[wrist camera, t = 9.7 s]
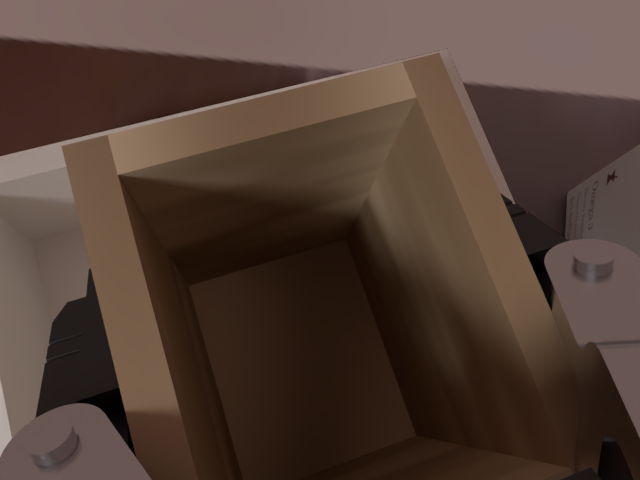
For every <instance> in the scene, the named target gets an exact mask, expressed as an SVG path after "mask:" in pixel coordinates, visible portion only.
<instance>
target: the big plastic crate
mask: <svg viewBox="0 0 640 480" xmlns="http://www.w3.org/2000/svg"><path fill="white" fill-rule="evenodd" d="M436 53H440V56H441V58H442V60H443V63H444V65H445V67H446V70H447V72H448V74H449V77H450V79H451V81H452V83H453V86H454V88H455V90H456V93H457V95H458V97H459V100H460V102H461V104H462V106H463V109H464V111H465V113H466V116H467V118H468V120H469V123H470V125H471V127H472V130H473V132H474V134H475V136H476V139H477V141H478V143H479V146H480V148H481V150H482V153H483V155H484V157H485V159H486V162H487V164H488V166H489V169H490V171H491V173H492V176H493V178H494V180H495V183H496V185H497V187H498V189H499V192H500V193H501V194H502V195H504V196H505V197H507V198H508V199H510V200H511V201H512V203H513V204H515V202H514V200H513V197H512V195H511V193H510V190H509V188H508V186H507V183H506V181H505V179H504V177H503V174H502V172H501V170H500V167H499V165H498V163H497V161H496V158H495V156H494V154H493V151H492V149H491V147H490V144H489V142H488V140H487V138H486V135H485V133H484V131H483V128H482V126H481V124H480V122H479V119H478V117H477V115H476V112H475V110H474V108H473V106H472V103H471V101H470V99H469V96H468V94H467V92H466V89H465V87H464V85H463V83H462V80H461V78H460V76H459V73H458V71H457V69H456V67H455V64H454V62H453V60H452V57H451V55H450V53H449V51H448V49H443V50H439V51H435V52H431V53H427V54H423V55H418V56H415V57H410V58H406V59H402V60H398V61H393V62H389V63H386V64H381V65H377V66H373V67H369V68H364V69H360V70H356V71H352V72H348V73H344V74H340V75H335V76H331V77H327V78H323V79H319V80H315V81H311V82H306V83H302V84H298V85H294V86H290V87H286V88H282V89H278V90H273V91H269V92H265V93H261V94H257V95H253V96H249V97H244V98H240V99H236V100H232V101H228V102H224V103H220V104H215V105H211V106H207V107H203V108H199V109H195V110H191V111H186V112H182V113H178V114H174V115H170V116H166V117H162V118H157V119H153V120H149V121H145V122H141V123H137V124H133V125H128V126H124V127H120V128H116V129H112V130H108V131H104V132H99V133H95V134H91V135H87V136H83V137H79V138H75V139H70V140H66V141H62V142H58V143H54V144H50V145H46V146H41V147H37V148H33V149H29V150H25V151H21V152H17V153H12V154H8V155H4V156H0V456H1V454H2V452H3V450H4V449H5V447H6V446H7V444H8V443H9V441H10V440H11V439H12V438H13V437H14V436H15V435H16V434H17V433H18V432H19V431H20V430H21V429H22V428H23V427H24V426H26V425H27V424H28V423H29V422H31V421H32V420H34V419H35V417H36V411H37V406H38V400H39V395H40V389H41V383H42V378H43V372H44V366H45V363H47V360H46V355H47V349H48V346H50V344H49V338H50V332H51V327H52V322H53V321H54V319H55V318H56V317H57V315H58V314H59V313H60V311H61V310H62V309H63V307H64V306H65V304H66V303H67V302H69V301H73V300H76V299H80V298H83V297H86V293H87V282H88V272H89V268H91V267H90V263H89V259H88V255H87V251H86V246H85V242H84V238H83V234H82V230H81V226H80V221H79V217H78V213H77V209H76V205H75V201H74V197H73V192H72V188H71V184H70V180H69V176H68V172H67V167H66V163H65V159H64V155H63V151H62V147H61V146H64V145H68V144H72V143H76V142H80V141H84V140H88V139H92V138H96V137H100V136H104V135H108V134H113V133H117V132H121V131H125V130H129V129H133V128H137V127H141V126H145V125H149V124H153V123H157V122H161V121H165V120H169V119H173V118H177V117H181V116H185V115H189V114H193V113H197V112H202V111H206V110H210V109H214V108H218V107H222V106H226V105H230V104H234V103H238V102H242V101H246V100H250V99H254V98H258V97H262V96H266V95H270V94H274V93H278V92H282V91H287V90H291V89H295V88H299V87H303V86H307V85H311V84H315V83H319V82H323V81H327V80H331V79H335V78H339V77H343V76H347V75H351V74H355V73H359V72H363V71H367V70H372V69H376V68H380V67H384V66H388V65H392V64H396V63H400V62H404V61H408V60H412V59H416V58H420V57H424V56H428V55H432V54H436Z"/></svg>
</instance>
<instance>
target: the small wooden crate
mask: <svg viewBox="0 0 640 480" xmlns="http://www.w3.org/2000/svg"><path fill="white" fill-rule="evenodd" d="M61 147H62V151H63V155H64V159H65V163H66V167H67V172H68V176H69V180H70V184H71V188H72V192H73V197H74V201H75V205H76V209H77V213H78V217H79V221H80V226H81V230H82V234H83V238H84V242H85V246H86V251H87V255H88V259H89V263H90V267H91V271H92V276H93V280H94V284H95V288H96V292H97V296H98V301H99V305H100V309H101V313H102V317H103V321H104V326H105V330H106V334H107V338H108V342H109V346H110V351H111V355H112V359H113V363H114V367H115V371H116V376H117V380H118V384H119V388H120V392H121V396H122V401H123V405H124V409H125V413H126V417H127V421H128V426H129V430H130V434H131V438H132V442H133V446H134V450H135V455H136V458H137V460H138V461H139V463H140V464H141V465H142V467H143V468H144V470H145V471H146V472H147V474H148V475H149V477H150V478H151V480H561V479H563V478H566V477H568V476H570V475H573V474H575V468H574V454H575V445H576V436H577V427H578V417H579V407H580V402H579V391H578V385H577V380H576V376H575V373H574V370H573V367H572V365H571V362H570V360H569V357H568V354H567V352H566V349H565V347H564V344H563V341H562V339H561V336H560V334H559V331H558V328H557V326H556V323H555V321H554V318H553V315H552V312H551V309H550V307H549V305H548V302H547V300H546V298H545V295H544V293H543V291H542V289H541V286H540V284H539V282H538V279H537V277H536V275H535V272H534V270H533V268H532V265H531V263H530V261H529V259H528V256H527V254H526V252H525V249H524V247H523V245H522V242H521V240H520V238H519V236H518V233H517V231H516V229H515V226H514V224H513V222H512V219H511V217H510V215H509V212H508V210H507V208H506V206H505V203H504V201H503V199H502V196H501V194H500V192H499V189H498V187H497V185H496V183H495V180H494V178H493V176H492V173H491V171H490V169H489V166H488V164H487V162H486V159H485V157H484V155H483V153H482V150H481V148H480V146H479V143H478V141H477V139H476V136H475V134H474V132H473V130H472V127H471V125H470V123H469V120H468V118H467V116H466V113H465V111H464V109H463V106H462V104H461V102H460V100H459V97H458V95H457V93H456V90H455V88H454V86H453V83H452V81H451V79H450V77H449V74H448V72H447V70H446V67H445V65H444V63H443V60H442V58H441V56H440V53H436V54H432V55H428V56H424V57H420V58H416V59H412V60H408V61H404V62H400V63H396V64H392V65H388V66H384V67H380V68H376V69H372V70H367V71H363V72H359V73H355V74H351V75H347V76H343V77H339V78H335V79H331V80H327V81H323V82H319V83H315V84H311V85H307V86H303V87H299V88H295V89H291V90H287V91H282V92H278V93H274V94H270V95H266V96H262V97H258V98H254V99H250V100H246V101H242V102H238V103H234V104H230V105H226V106H222V107H218V108H214V109H210V110H206V111H202V112H197V113H193V114H189V115H185V116H181V117H177V118H173V119H169V120H165V121H161V122H157V123H153V124H149V125H145V126H141V127H137V128H133V129H129V130H125V131H121V132H117V133H113V134H108V135H104V136H100V137H96V138H92V139H88V140H84V141H80V142H76V143H72V144H68V145H64V146H61Z"/></svg>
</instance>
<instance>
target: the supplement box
mask: <svg viewBox="0 0 640 480" xmlns="http://www.w3.org/2000/svg"><path fill="white" fill-rule="evenodd" d="M565 238H566V239H567V240H569V241H571V240H579V239H596V240H603V241H608V242H612V243H615V244H619V245H621V246H623V247H626V248H628V249H629V250H631V251H633V252H634V253H635V254H636V255H638V257H639V258H640V144H639V145H637V146H636V147H634V148H633V149H631V150H630V151H628V152H627V153H625V154H624V155H622V156H621V157H619V158H618V159H616V160H615V161H613V162H612V163H610V164H609V165H607V166H606V167H604V168H603V169H601V170H600V171H598V172H597V173H595V174H594V175H592V176H591V177H589V178H588V179H586V180H585V181H583V182H582V183H580V184H579V185H577V186H576V187H574V188H573V189H571V190H570V191H569V192H568V193H567V208H566V228H565Z"/></svg>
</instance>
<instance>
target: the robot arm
mask: <svg viewBox="0 0 640 480" xmlns="http://www.w3.org/2000/svg"><path fill="white" fill-rule="evenodd" d="M500 194H501V193H500ZM501 196H502V199H503V201H504V203H505V206H506V208H507V210H508V212H509V215H510V217H511V219H512V222H513V224H514V226H515V229H516V231H517V233H518V236H519V238H520V240H521V242H522V245H523V247H524V249H525V252H526V254H527V256H528V259H529V261H530V263H531V265H532V268H533V270H534V272H535V275H536V277H537V279H538V282H539V284H540V286H541V289H542V291H543V293H544V295H545V298H546V300H547V302H548V305H549V307H550V309H551V312H552V315H553V318H554V321H555V323H556V326H557V328H558V331H559V334H560V336H561V339H562V341H563V344H564V347H565V349H566V352H567V354H568V357H569V360H570V362H571V365H572V367H573V370H574V373H575V376H576V380H577V385H578V391H579V402H580V407H579V417H578V427H577V436H576V445H575V454H574V468H575V474H573V475H570V476H568V477H566V478H563V479H561V480H640V258H639V257H638V255H636V254H635V253H634V252H633V251H631V250H629V249H628V248H626V247H623V246H621V245H619V244H615V243H612V242H608V241H603V240H596V239H579V240H571V241H569V240H567V239H566V238H565V237H563V236H562V235H560V234H559V233H557V232H556V231H554V230H553V229H552V228H550V227H549V226H547V225H546V224H544V223H543V222H541V221H540V220H539V219H537V218H536V217H534V216H533V215H531V214H530V213H526V211H525V210H524V209H523V208H521V207H520V206H518V205H517V204H513V203H512V201H511V200H510V199H508V198H507V197H505V196H504V195H502V194H501ZM49 344H50V346H48V349H47V355H46V360H47V363H45V366H44V372H43V378H42V383H41V389H40V395H39V400H38V406H37V411H36V417H35V419H34V420H32V421H31V422H29V423H28V424H27V425H26V426H24V427H23V428H22V429H21V430H20V431H19V432H18V433H17V434H16V435H15V436H14V437H13V438H12V439H11V440H10V441H9V443H8V444H7V446H6V447H5V449H4V450H3V452H2V454H1V456H0V480H151V478H150V477H149V475H148V474H147V472H146V471H145V470H144V468H143V467H142V465H141V464H140V463H139V461H138V460H137V458H136V455H135V450H134V446H133V442H132V438H131V434H130V430H129V426H128V421H127V417H126V413H125V409H124V405H123V401H122V396H121V392H120V388H119V384H118V380H117V376H116V371H115V367H114V363H113V359H112V355H111V351H110V346H109V342H108V338H107V334H106V330H105V326H104V321H103V317H102V313H101V309H100V305H99V301H98V296H97V292H96V288H95V284H94V280H93V276H92V271H91V268H89V272H88V282H87V293H86V297H83V298H80V299H76V300H73V301H69V302H67V303H66V304H65V306H64V307H63V309H62V310H61V311H60V313H59V314H58V315H57V317H56V318H55V319H54V321H53V322H52V327H51V332H50V338H49Z"/></svg>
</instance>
